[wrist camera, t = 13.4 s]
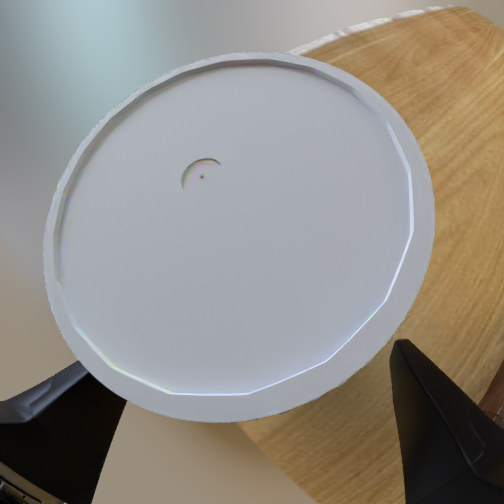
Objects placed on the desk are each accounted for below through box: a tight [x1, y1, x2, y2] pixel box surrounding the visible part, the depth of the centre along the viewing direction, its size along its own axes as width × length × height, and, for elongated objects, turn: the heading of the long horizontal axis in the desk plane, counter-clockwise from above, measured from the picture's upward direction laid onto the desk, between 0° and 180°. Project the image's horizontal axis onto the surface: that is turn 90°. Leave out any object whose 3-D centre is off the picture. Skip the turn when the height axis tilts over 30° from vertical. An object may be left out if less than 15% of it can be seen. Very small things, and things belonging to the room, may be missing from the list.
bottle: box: [43, 52, 435, 423], centre depth 10 cm, size 7×7×15 cm
